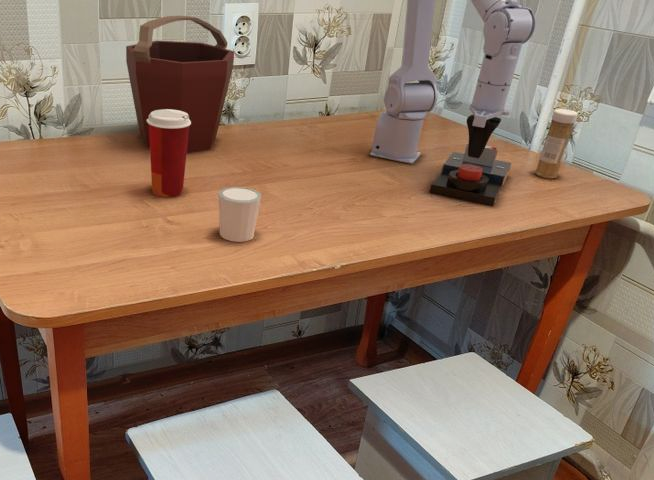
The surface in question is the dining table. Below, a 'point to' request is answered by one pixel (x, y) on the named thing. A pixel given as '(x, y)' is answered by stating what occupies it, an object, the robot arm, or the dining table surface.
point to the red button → (470, 172)
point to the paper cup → (168, 150)
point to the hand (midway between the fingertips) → (474, 156)
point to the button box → (466, 188)
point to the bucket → (180, 80)
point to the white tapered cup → (238, 213)
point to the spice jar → (556, 143)
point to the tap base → (494, 173)
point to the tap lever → (483, 156)
